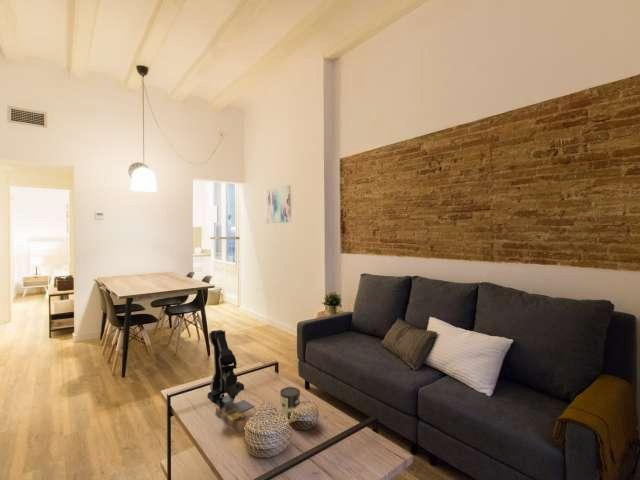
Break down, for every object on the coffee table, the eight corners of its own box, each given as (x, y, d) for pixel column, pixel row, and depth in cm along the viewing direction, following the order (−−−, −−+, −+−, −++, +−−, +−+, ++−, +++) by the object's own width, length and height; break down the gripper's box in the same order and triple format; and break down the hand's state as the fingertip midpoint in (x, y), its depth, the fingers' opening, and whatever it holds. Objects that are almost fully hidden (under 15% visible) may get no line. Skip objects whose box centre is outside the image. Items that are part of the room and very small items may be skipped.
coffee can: (301, 414, 183) (302, 388, 182) (296, 424, 173) (297, 397, 172) (283, 411, 185) (283, 385, 184) (277, 422, 175) (277, 394, 174)
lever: (237, 413, 173) (226, 416, 169) (237, 411, 173) (227, 414, 169) (243, 418, 170) (233, 421, 165) (243, 415, 170) (233, 418, 165)
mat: (228, 406, 188) (228, 406, 188) (243, 400, 196) (243, 399, 196) (239, 413, 182) (239, 413, 182) (254, 406, 189) (254, 406, 189)
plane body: (215, 414, 180) (215, 404, 180) (225, 409, 185) (225, 400, 185) (240, 432, 165) (240, 421, 165) (251, 426, 170) (251, 416, 170)
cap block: (218, 408, 179) (218, 398, 179) (227, 404, 183) (227, 395, 183) (225, 412, 175) (225, 402, 175) (233, 408, 179) (233, 399, 179)
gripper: (219, 388, 166) (218, 420, 167) (250, 376, 180) (250, 406, 181) (207, 381, 174) (206, 411, 174) (238, 370, 188) (237, 398, 188)
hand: (226, 407), depth 179 cm, fingers open, 6 cm apart
